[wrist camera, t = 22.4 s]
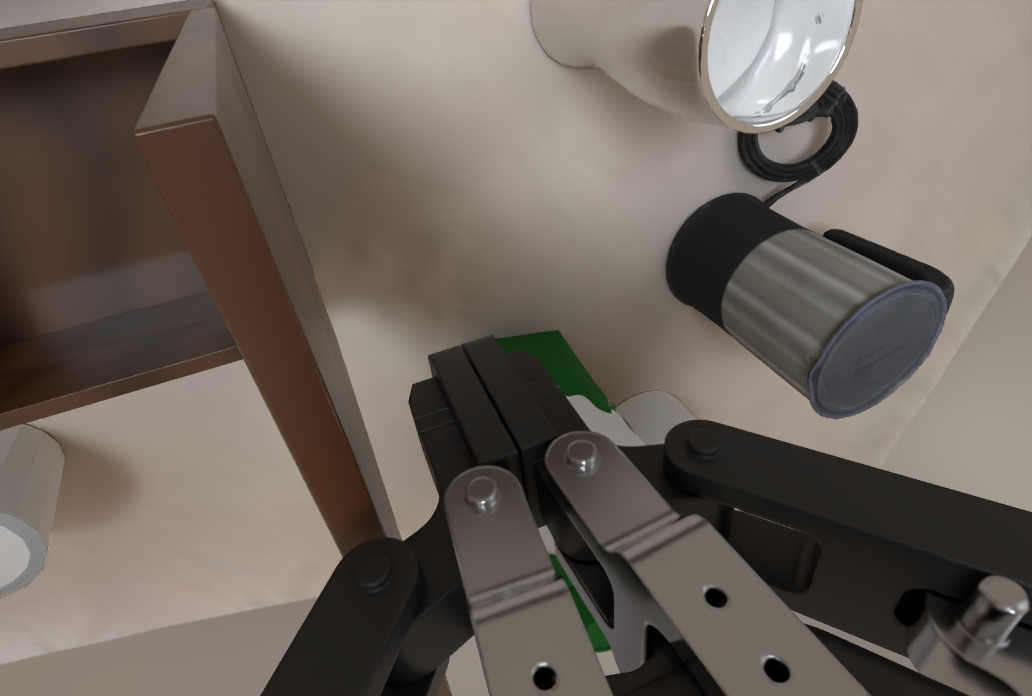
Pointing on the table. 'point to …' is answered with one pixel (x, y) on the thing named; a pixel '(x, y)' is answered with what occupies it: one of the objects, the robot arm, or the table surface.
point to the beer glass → (707, 52)
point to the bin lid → (260, 274)
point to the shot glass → (26, 502)
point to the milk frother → (810, 283)
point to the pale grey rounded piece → (654, 415)
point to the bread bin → (92, 221)
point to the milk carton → (596, 417)
